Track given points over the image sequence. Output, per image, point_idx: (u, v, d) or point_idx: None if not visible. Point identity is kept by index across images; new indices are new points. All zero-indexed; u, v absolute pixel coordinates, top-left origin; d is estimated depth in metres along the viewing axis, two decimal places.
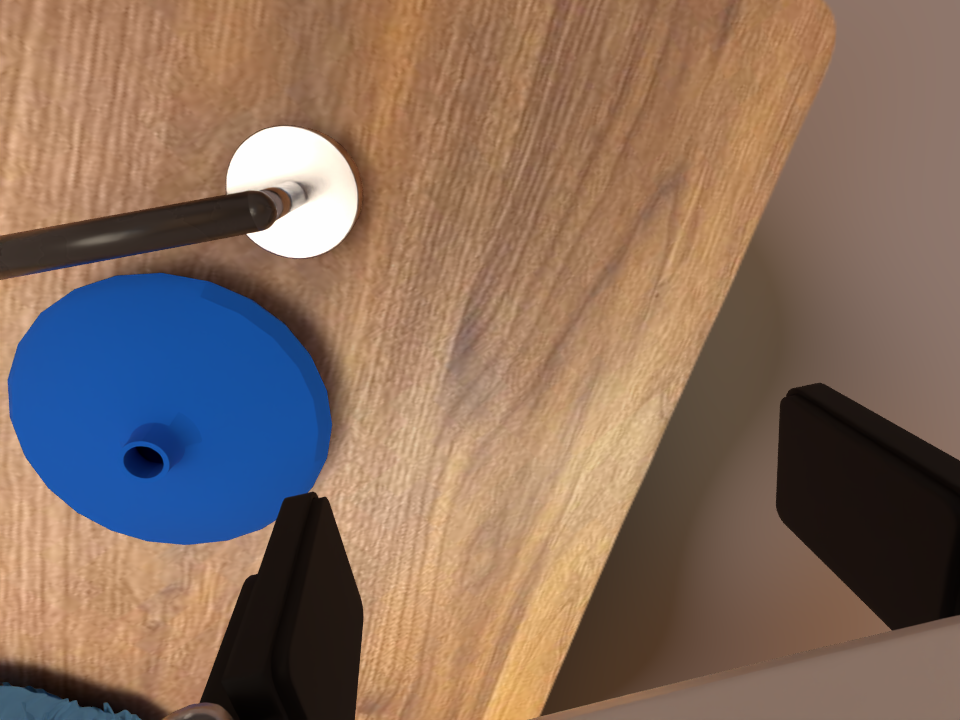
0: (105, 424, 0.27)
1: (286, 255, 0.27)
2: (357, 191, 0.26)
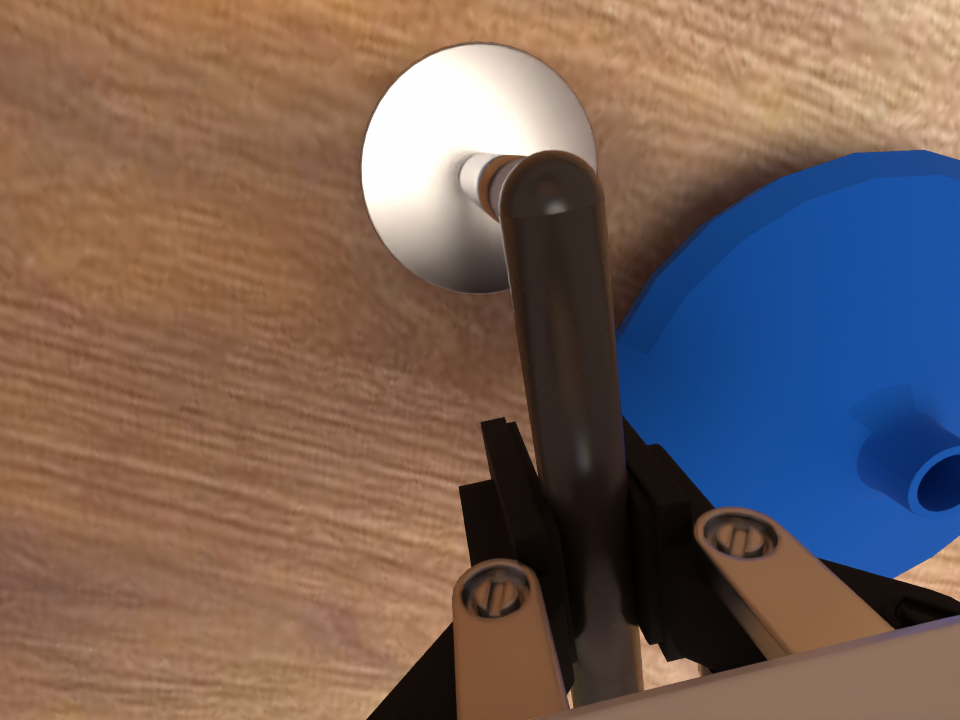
0: (831, 513, 0.17)
1: None
2: (476, 43, 0.13)
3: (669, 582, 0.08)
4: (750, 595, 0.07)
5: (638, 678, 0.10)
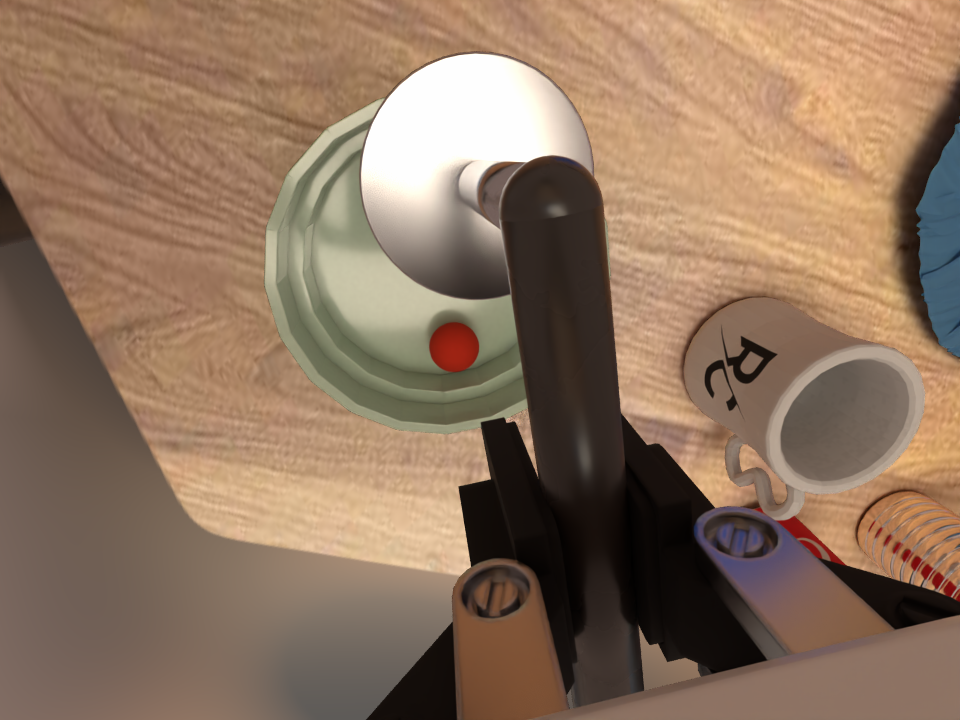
0: None
1: None
2: (474, 53, 0.13)
3: (669, 582, 0.08)
4: (750, 595, 0.07)
5: (638, 680, 0.10)
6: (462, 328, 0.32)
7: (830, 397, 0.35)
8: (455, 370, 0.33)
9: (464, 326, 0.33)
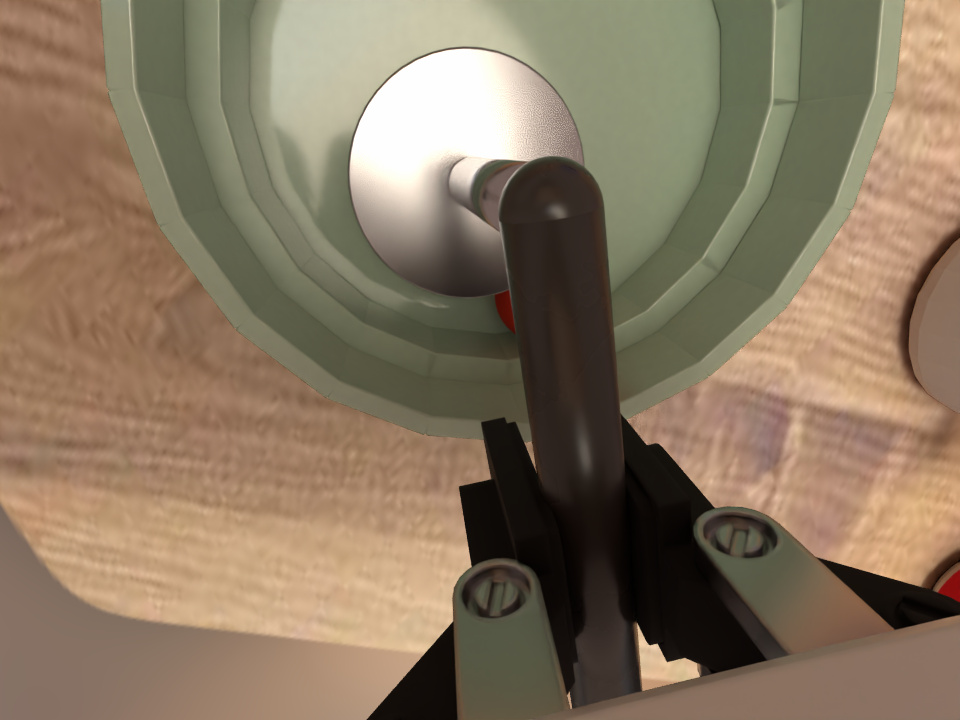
0: None
1: None
2: (464, 47, 0.13)
3: (669, 582, 0.08)
4: (750, 595, 0.07)
5: (637, 677, 0.10)
6: None
7: None
8: None
9: None
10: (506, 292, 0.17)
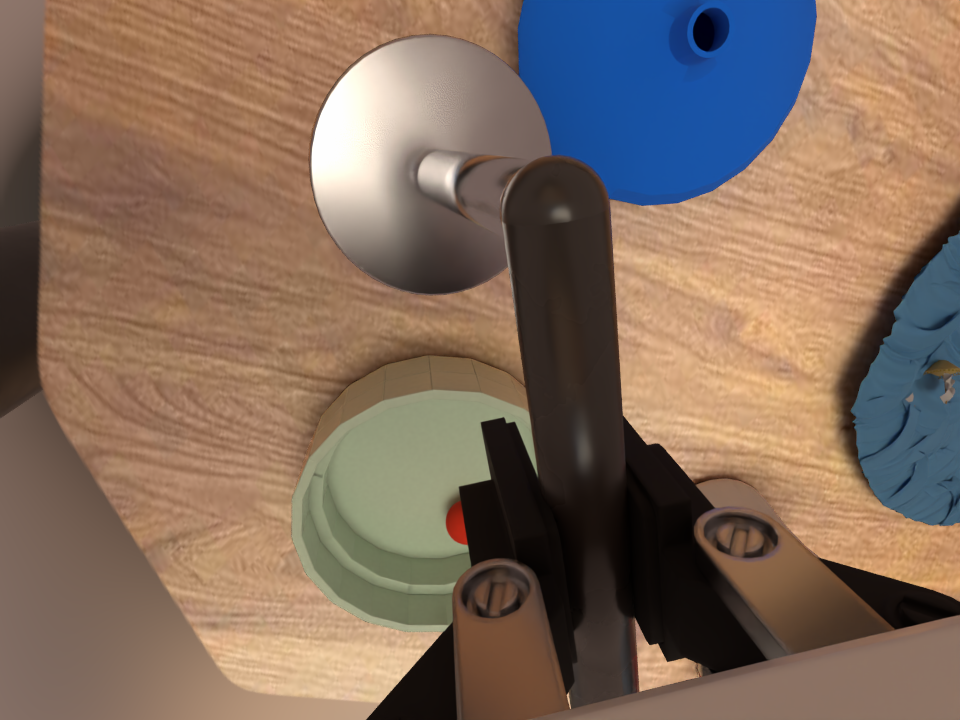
0: (663, 94, 0.27)
1: None
2: (429, 35, 0.12)
3: (669, 582, 0.08)
4: (750, 595, 0.07)
5: (635, 666, 0.10)
6: None
7: None
8: None
9: None
10: (451, 508, 0.38)
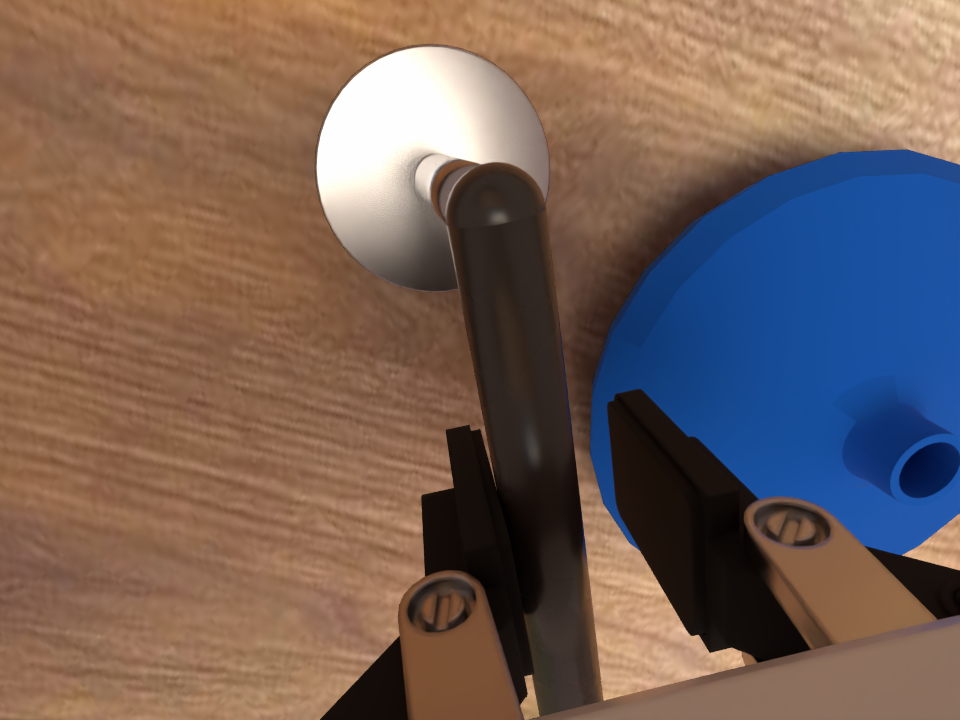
0: (818, 502, 0.17)
1: None
2: (428, 45, 0.13)
3: (717, 572, 0.08)
4: (795, 580, 0.07)
5: (593, 655, 0.11)
6: None
7: None
8: None
9: None
10: None
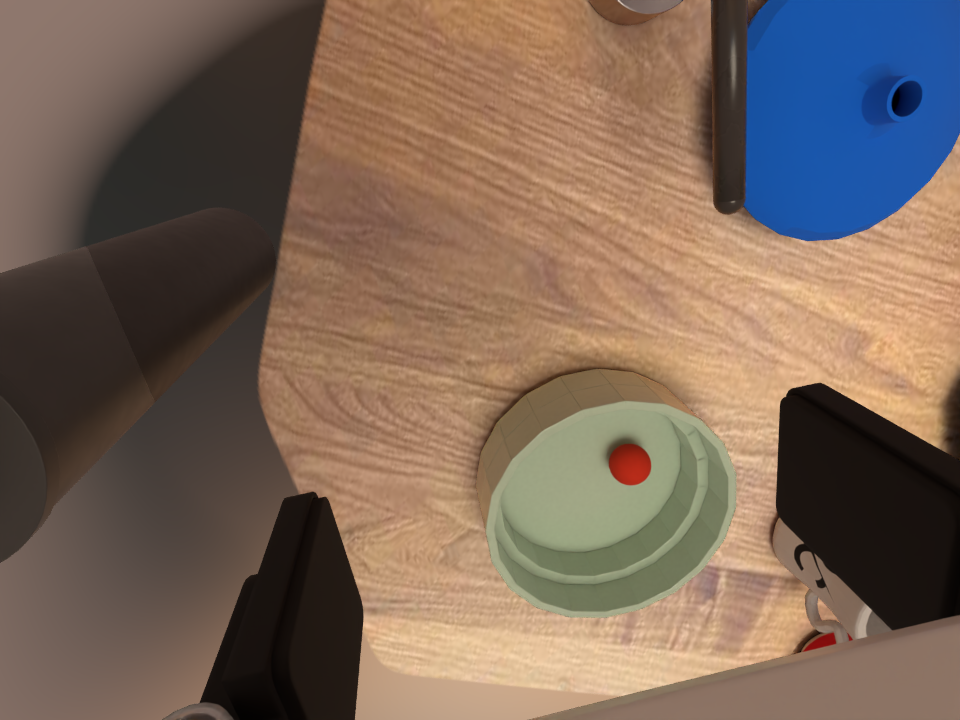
0: (847, 148, 0.31)
1: None
2: None
3: None
4: None
5: (746, 116, 0.24)
6: (643, 479, 0.40)
7: None
8: None
9: (645, 477, 0.39)
10: (614, 476, 0.40)
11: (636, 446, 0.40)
